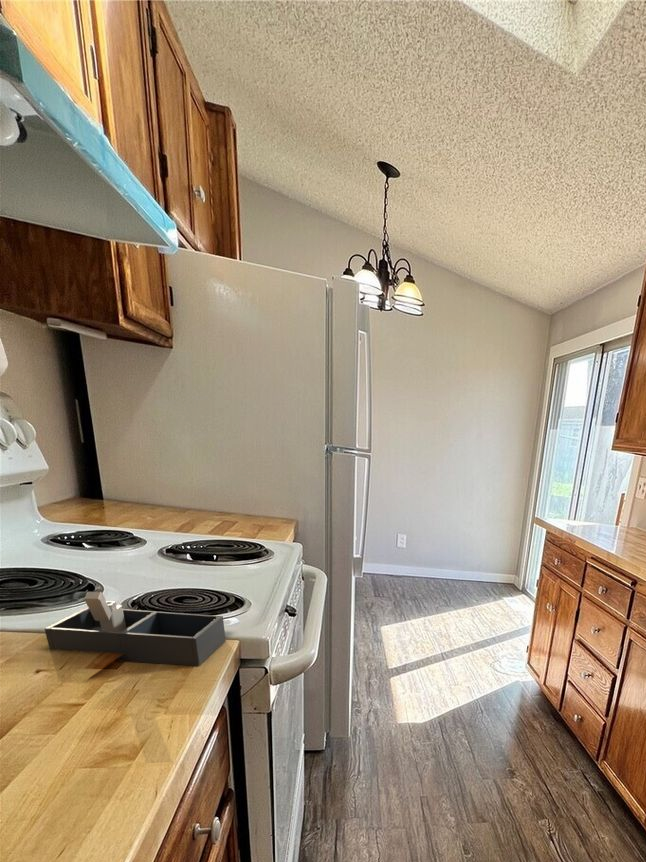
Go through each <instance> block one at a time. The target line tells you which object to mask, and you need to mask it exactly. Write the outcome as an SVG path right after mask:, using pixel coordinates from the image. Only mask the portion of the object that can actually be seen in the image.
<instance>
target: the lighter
mask: <svg viewBox="0 0 646 862" xmlns="http://www.w3.org/2000/svg"><path fill="white" fill-rule="evenodd" d="M84 601H85V604H86V605H87V606H86V607H88V608H89V610H90V612H91V614H92V616H93V618H94V620H96V621H100V625H101V627H100V631H112V632H122V631H124V630H125V629H126V623H125V618H124V613H123V609H124V608H123V605H122V604H117V602H116V601H115V600H106V598H105V596H104V594H103V592H101V591H87V592H86V595H85V597H84Z"/></svg>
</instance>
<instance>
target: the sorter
mask: <svg viewBox="0 0 646 862" xmlns="http://www.w3.org/2000/svg"><path fill="white" fill-rule="evenodd" d="M123 613H124V618H125V623H126V629H125V630H124V631H122V632H112V631H102V630H98V629H97V630H96V629H94V628H101V625H100V621H96V620H94V618H93V616H92V614H91V612H90V610H89V608H88V606H86V607H85V608H83V609H80V610H79V611H76V612H74V613H73V614H70V615H69V616H66V617H64V618H63V619H61V620H58V621H57V622H55V623H52V624H50V625H49V626H47V627H44V632H45V637H46V640H47V644H48V645H47V646H48V648H49V650H57V651H72V652H87V653H88V652H89V653H105V654H106V653H107V654H119V655H120V654H121V655H120V656H118V657H117V658H116V659H114V660H113V662H126V663H141V664H142V663H144V664H158V665H159V664H160V665H161V664H162V665H174V666H175V665H178V666H190V667H191V666H193V667H201V665H202V664H203V663H204V662H205V661H207V660H208V659H209V658H210V657H211V656H212V655H213V654H214V653H215V652H216V651H217V650H218V649H219V648H221V646H222V645H224V643H225V642H227V639H226V632H225V631H226V630H225V623H224V616H223V615H212V614H197V613H184V612H169V611H158V610H157V611H155V610H145V609H144V610H143V609H128V608H123Z"/></svg>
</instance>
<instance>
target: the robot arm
mask: <svg viewBox="0 0 646 862" xmlns="http://www.w3.org/2000/svg"><path fill="white" fill-rule="evenodd" d="M4 347H5V346H4V345H3V341H2V339H1V337H0V377H2V376H4V374H5V372H6V371H7V368H8V366H9V363H8V358H7V354H6V351H5V348H4Z"/></svg>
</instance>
